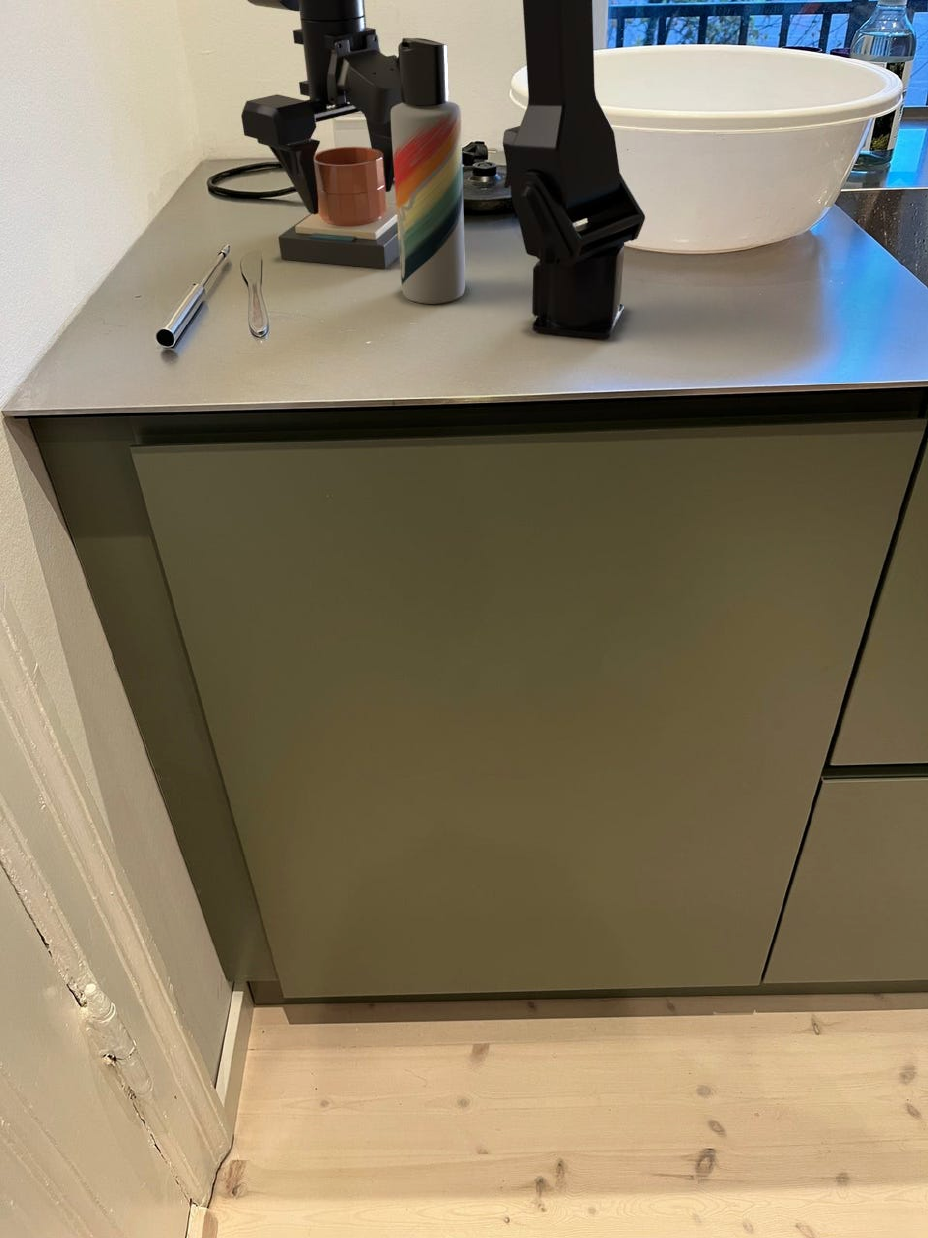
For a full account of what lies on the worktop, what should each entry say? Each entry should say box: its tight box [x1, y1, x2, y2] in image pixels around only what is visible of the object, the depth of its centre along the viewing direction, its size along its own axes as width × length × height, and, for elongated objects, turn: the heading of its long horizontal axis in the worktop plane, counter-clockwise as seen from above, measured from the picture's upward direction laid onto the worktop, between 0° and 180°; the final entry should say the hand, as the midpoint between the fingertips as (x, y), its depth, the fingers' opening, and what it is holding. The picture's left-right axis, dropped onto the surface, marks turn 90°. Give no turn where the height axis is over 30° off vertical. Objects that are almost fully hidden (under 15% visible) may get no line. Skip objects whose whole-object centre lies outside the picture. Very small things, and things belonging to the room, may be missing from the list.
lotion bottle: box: [391, 37, 466, 305], centre depth 81 cm, size 6×6×20 cm
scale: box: [278, 204, 400, 270], centre depth 97 cm, size 11×11×3 cm
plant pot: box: [314, 146, 388, 226], centre depth 94 cm, size 7×7×6 cm
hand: (350, 201), depth 95 cm, fingers open, 9 cm apart
